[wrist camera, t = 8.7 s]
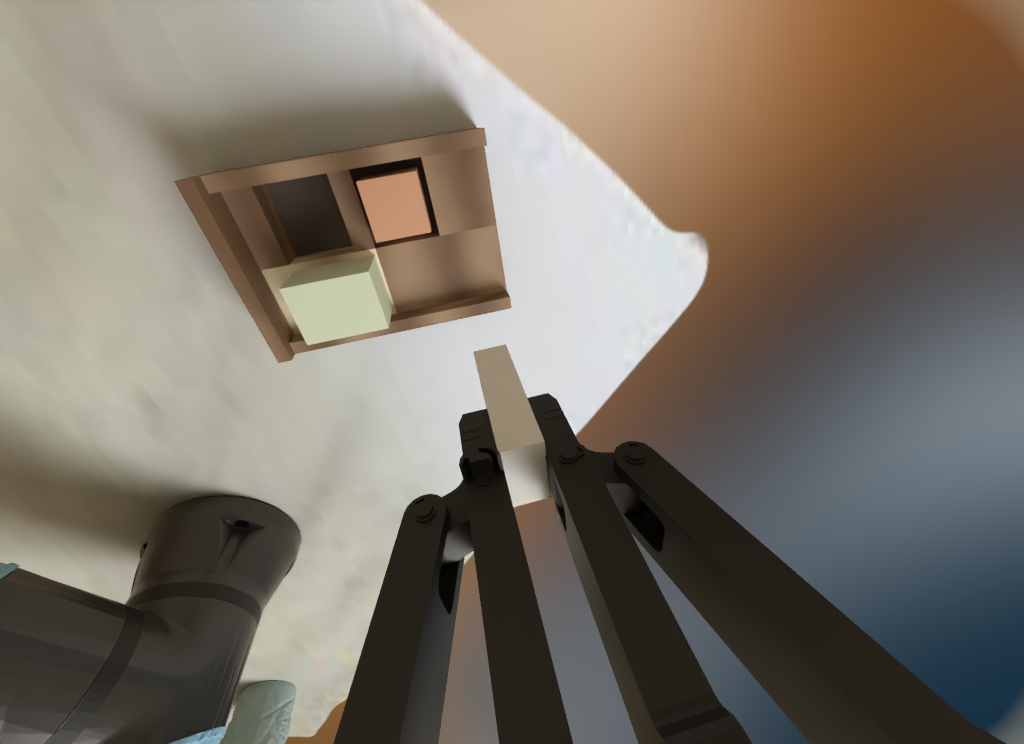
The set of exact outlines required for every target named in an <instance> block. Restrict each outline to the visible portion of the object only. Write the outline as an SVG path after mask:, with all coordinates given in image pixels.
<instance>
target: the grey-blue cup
mask: <svg viewBox="0 0 1024 744" xmlns="http://www.w3.org/2000/svg"><path fill="white" fill-rule="evenodd" d="M295 694H296V687H295V686H294V685H293V684H292V683H289V682H286V681H277V680H273V681H263V682H259V683H255V684H252V685H250V686H248V687H246V688H245V689H244V690H243V691H242V693H241V695H240V697H239V700H238V702H237V705H236V707H235V710H234V713H233V717H232V720H231V722H230V723H229V725H228V728H227V730H226V733H225V735H224V738H223V740H222V742H221V743H222V744H286V739H287V737H288V731H289V727H290V721H291V718H290V715H291V712H292V709H293V704H294V699H295Z"/></svg>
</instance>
